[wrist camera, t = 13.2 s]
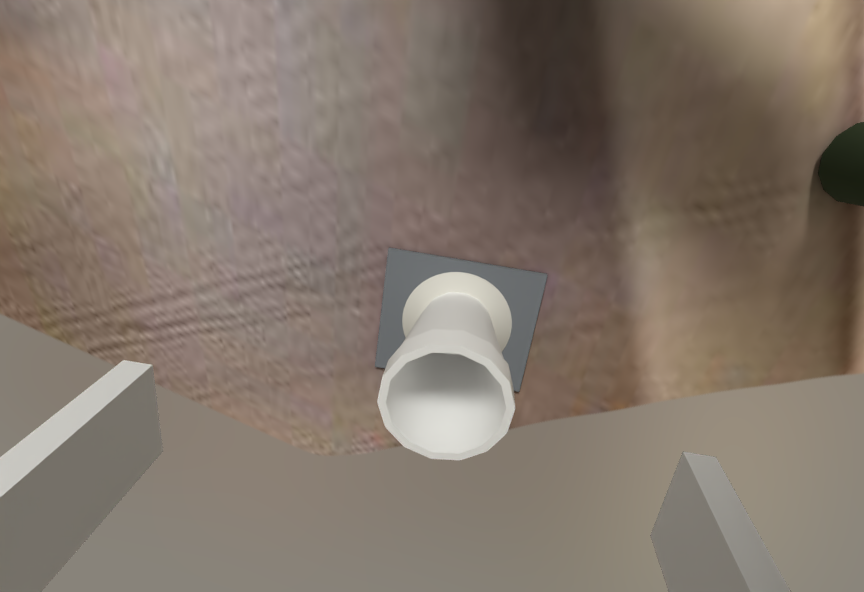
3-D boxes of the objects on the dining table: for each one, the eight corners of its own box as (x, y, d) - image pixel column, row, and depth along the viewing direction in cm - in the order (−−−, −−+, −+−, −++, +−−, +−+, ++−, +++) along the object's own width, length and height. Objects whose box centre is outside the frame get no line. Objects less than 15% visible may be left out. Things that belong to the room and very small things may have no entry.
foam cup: (462, 386, 51) (454, 481, 39) (385, 329, 49) (352, 410, 37) (529, 317, 47) (543, 399, 35) (448, 254, 46) (435, 317, 34)
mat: (389, 247, 47) (388, 249, 46) (546, 273, 46) (547, 275, 46) (375, 364, 51) (374, 367, 51) (518, 389, 51) (519, 392, 50)
